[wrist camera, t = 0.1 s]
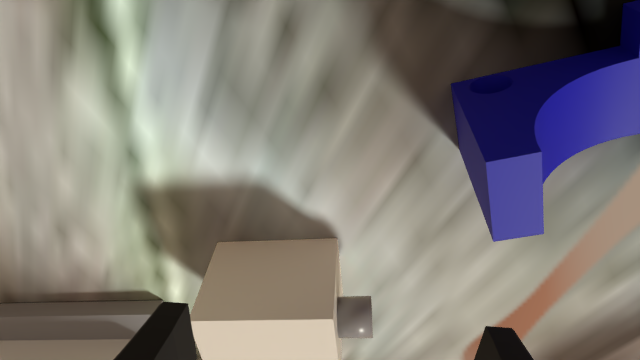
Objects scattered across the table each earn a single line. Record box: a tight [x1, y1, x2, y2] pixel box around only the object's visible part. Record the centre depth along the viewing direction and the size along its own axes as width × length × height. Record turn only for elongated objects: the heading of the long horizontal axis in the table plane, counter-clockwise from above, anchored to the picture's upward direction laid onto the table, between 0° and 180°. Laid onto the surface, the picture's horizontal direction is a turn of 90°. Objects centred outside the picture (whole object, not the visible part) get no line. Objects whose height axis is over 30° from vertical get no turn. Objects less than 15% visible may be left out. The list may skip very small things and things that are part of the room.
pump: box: [190, 238, 373, 360], centre depth 22 cm, size 4×8×5 cm, turn 96°
